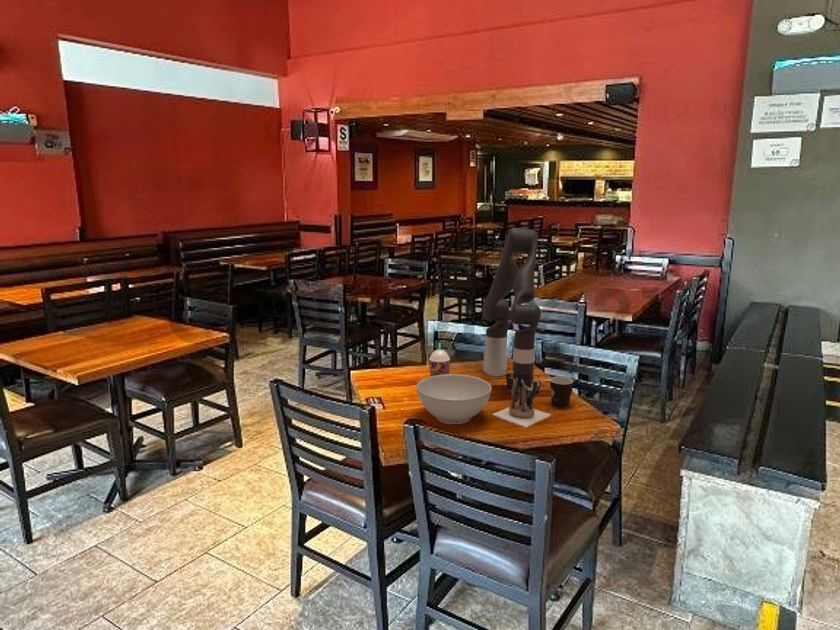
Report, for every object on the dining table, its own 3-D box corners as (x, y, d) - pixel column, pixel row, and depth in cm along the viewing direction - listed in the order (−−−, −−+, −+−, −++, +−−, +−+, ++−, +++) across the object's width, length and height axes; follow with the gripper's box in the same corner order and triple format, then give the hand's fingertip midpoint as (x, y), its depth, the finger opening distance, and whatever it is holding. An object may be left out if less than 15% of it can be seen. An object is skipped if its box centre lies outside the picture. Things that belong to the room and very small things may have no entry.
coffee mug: (572, 410, 221) (573, 384, 219) (548, 408, 223) (549, 383, 221) (571, 399, 232) (572, 374, 230) (548, 397, 234) (549, 373, 232)
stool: (519, 405, 222) (520, 381, 220) (539, 412, 216) (540, 387, 214) (504, 411, 216) (504, 387, 214) (524, 419, 210) (525, 393, 208)
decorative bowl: (472, 400, 232) (473, 370, 229) (503, 427, 207) (504, 394, 204) (407, 409, 223) (406, 378, 221) (431, 438, 199) (431, 404, 196)
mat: (492, 415, 217) (492, 414, 217) (517, 404, 227) (517, 403, 227) (525, 428, 206) (525, 426, 206) (551, 416, 216) (551, 414, 216)
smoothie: (439, 395, 236) (439, 347, 232) (425, 390, 242) (424, 343, 238) (454, 390, 242) (454, 343, 237) (440, 385, 248) (440, 339, 243)
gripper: (546, 361, 209) (544, 406, 213) (514, 353, 219) (512, 396, 223) (534, 366, 204) (532, 412, 208) (501, 357, 214) (499, 401, 218)
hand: (522, 403), depth 215 cm, fingers closed on stool, 5 cm apart
